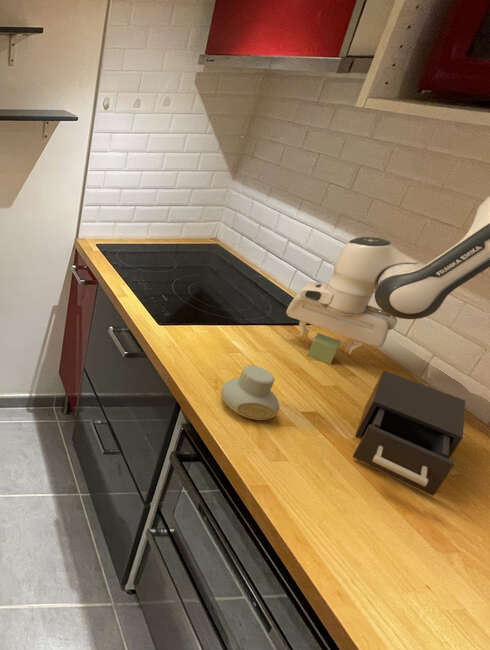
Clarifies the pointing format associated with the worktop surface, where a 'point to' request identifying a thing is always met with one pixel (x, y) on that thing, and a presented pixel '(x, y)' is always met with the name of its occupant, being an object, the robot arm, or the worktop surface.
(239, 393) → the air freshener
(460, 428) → the small drawer unit
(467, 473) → the worktop surface
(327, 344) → the block
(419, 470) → the open nightstand drawer
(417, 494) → the worktop surface
